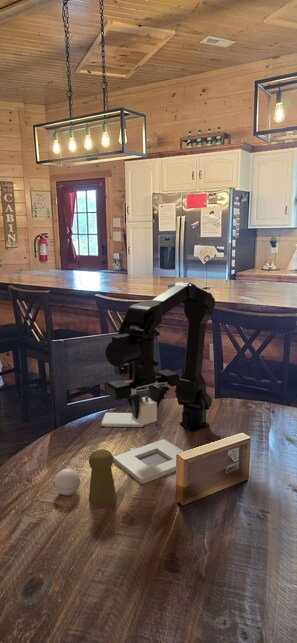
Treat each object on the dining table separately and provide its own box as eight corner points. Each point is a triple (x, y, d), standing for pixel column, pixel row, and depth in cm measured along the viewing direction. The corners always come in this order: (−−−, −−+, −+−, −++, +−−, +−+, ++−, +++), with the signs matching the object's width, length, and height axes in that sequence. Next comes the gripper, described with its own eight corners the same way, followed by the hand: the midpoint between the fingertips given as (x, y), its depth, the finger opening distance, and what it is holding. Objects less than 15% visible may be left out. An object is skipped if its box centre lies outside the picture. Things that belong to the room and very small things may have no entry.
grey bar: (132, 450, 118) (132, 447, 118) (136, 453, 116) (136, 450, 116) (103, 461, 113) (103, 457, 113) (106, 464, 111) (106, 460, 111)
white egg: (63, 484, 103) (62, 461, 102) (85, 488, 101) (84, 466, 100) (44, 502, 96) (42, 479, 95) (67, 508, 94) (66, 484, 93)
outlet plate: (163, 443, 122) (163, 439, 121) (195, 462, 111) (195, 458, 111) (113, 461, 113) (112, 456, 112) (141, 484, 102) (141, 479, 102)
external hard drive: (105, 416, 141) (145, 417, 140) (101, 428, 133) (143, 428, 132) (105, 412, 140) (145, 412, 139) (101, 423, 132) (143, 423, 131)
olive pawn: (121, 494, 99) (119, 448, 96) (107, 510, 93) (105, 462, 91) (97, 488, 101) (95, 443, 99) (83, 503, 96) (80, 456, 93)
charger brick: (146, 414, 116) (146, 392, 115) (157, 420, 112) (156, 398, 111) (131, 419, 113) (131, 396, 112) (141, 425, 110) (141, 402, 108)
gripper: (156, 343, 121) (156, 398, 124) (94, 355, 111) (96, 414, 114) (181, 353, 112) (181, 411, 115) (116, 366, 102) (118, 430, 105)
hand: (144, 416), depth 112 cm, fingers closed on charger brick, 5 cm apart
